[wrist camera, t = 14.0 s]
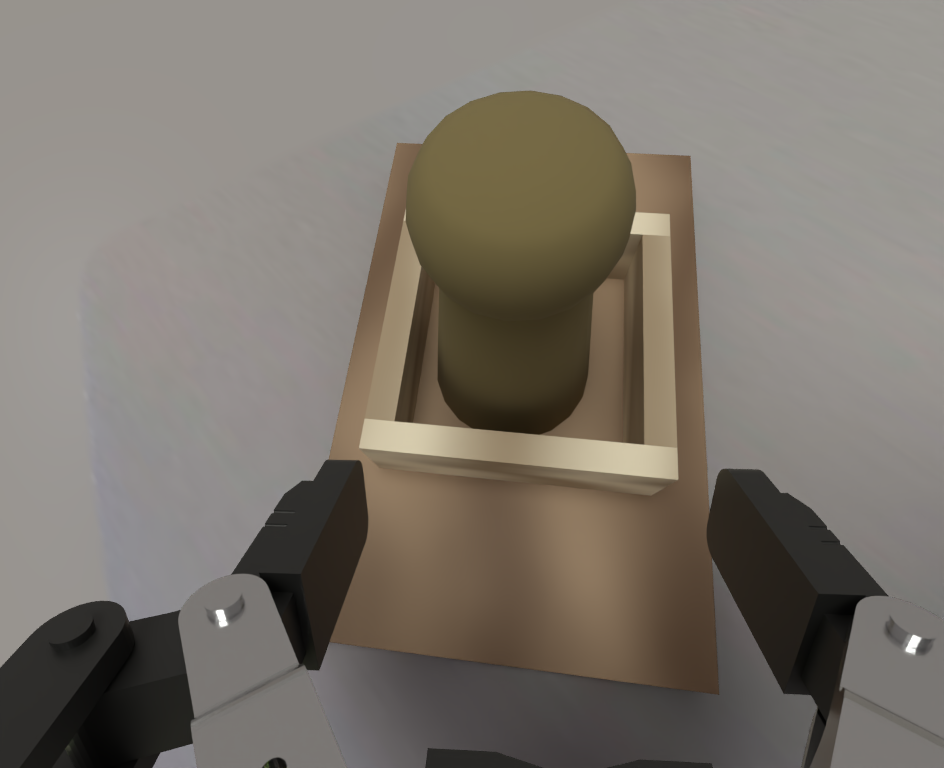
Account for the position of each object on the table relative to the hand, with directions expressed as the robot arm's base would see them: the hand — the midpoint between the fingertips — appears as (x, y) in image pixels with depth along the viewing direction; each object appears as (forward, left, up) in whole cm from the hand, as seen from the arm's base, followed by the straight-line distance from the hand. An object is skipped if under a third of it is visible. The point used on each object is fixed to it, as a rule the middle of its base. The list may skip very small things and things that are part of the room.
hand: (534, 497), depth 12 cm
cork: (+1, -6, -7) cm, 10 cm away
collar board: (0, -7, -8) cm, 11 cm away
